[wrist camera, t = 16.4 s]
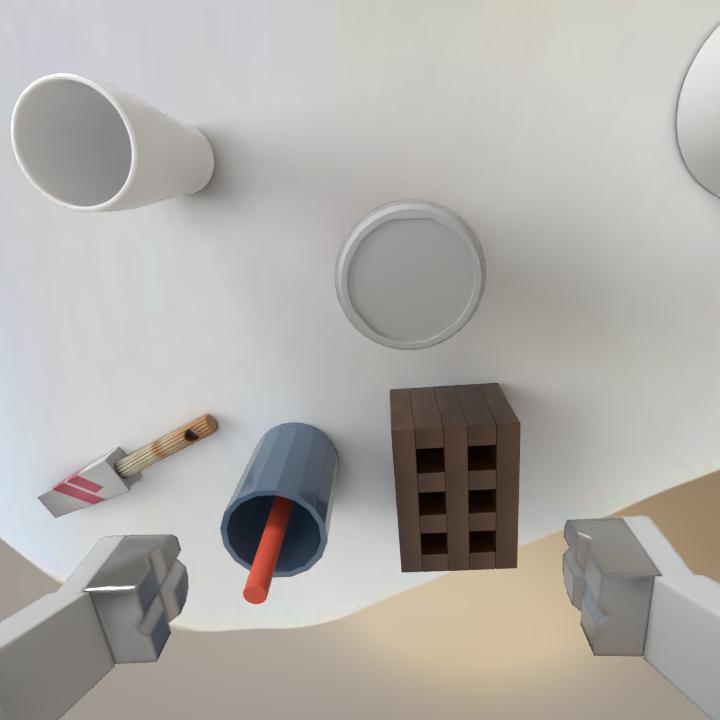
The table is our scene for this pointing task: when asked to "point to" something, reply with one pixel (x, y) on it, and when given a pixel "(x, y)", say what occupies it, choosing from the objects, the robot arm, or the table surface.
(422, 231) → the disposable coffee cup
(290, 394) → the table surface
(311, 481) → the tumbler
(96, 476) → the grey and wooden tool
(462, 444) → the caddy
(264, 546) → the straw
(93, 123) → the drinking glass
